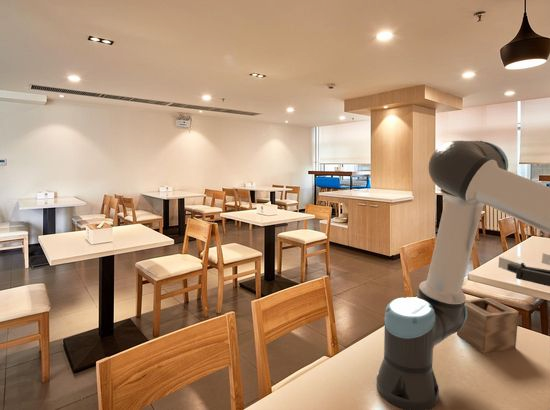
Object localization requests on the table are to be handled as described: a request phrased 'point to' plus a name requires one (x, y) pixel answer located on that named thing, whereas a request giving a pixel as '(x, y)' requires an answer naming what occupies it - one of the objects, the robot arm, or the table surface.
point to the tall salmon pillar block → (492, 309)
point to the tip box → (489, 326)
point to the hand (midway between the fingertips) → (521, 259)
